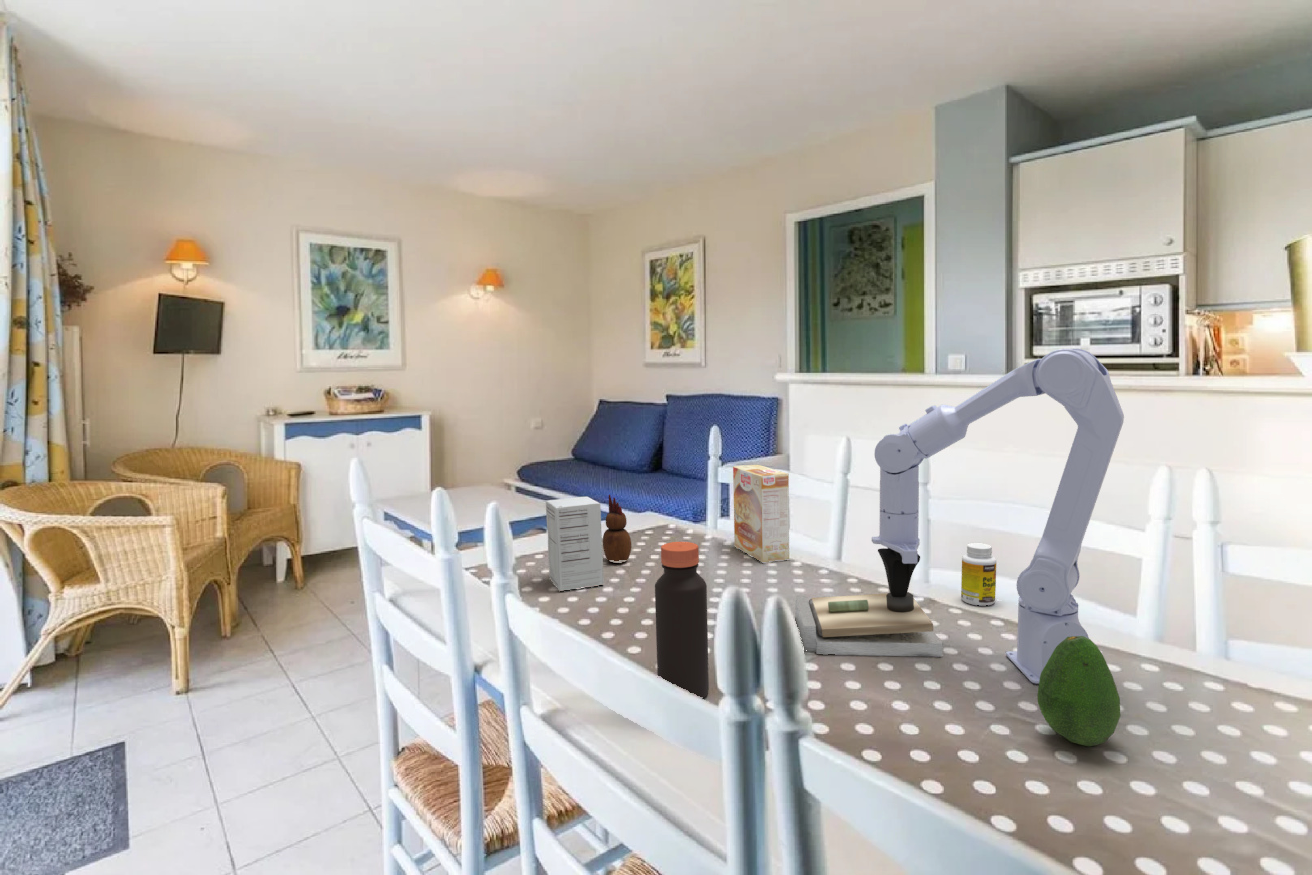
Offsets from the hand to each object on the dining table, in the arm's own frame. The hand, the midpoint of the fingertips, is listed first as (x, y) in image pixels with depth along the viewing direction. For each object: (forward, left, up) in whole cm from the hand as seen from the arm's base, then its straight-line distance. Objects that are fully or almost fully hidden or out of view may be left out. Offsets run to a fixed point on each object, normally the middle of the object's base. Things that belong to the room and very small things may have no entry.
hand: (898, 595), depth 109 cm
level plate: (0, +5, -4) cm, 6 cm away
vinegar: (-21, +32, -7) cm, 39 cm away
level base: (0, +4, -6) cm, 8 cm away
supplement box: (+25, +57, -7) cm, 63 cm away
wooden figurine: (+40, +51, -7) cm, 66 cm away
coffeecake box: (+47, +19, -7) cm, 51 cm away
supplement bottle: (+16, -18, -7) cm, 25 cm away
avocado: (-30, -13, -7) cm, 33 cm away
